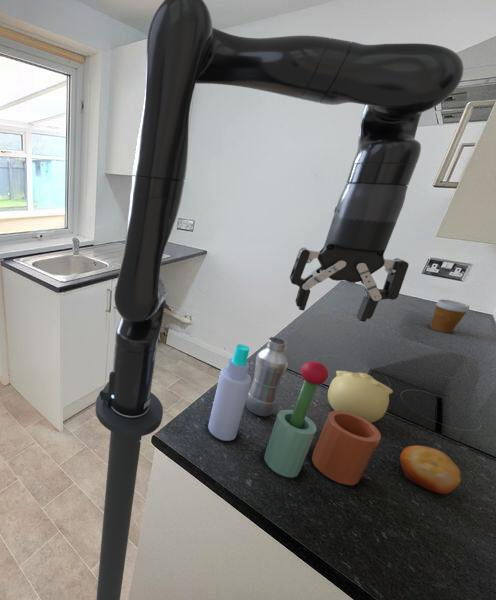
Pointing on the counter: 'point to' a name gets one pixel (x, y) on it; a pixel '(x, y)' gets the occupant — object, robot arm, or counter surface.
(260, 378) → the silver metal bottle
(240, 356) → the spray bottle
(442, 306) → the disposable coffee cup
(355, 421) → the terracotta vase
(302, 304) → the robot arm
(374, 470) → the counter surface
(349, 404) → the sculpture
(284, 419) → the celadon vase
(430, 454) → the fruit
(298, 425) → the rose
